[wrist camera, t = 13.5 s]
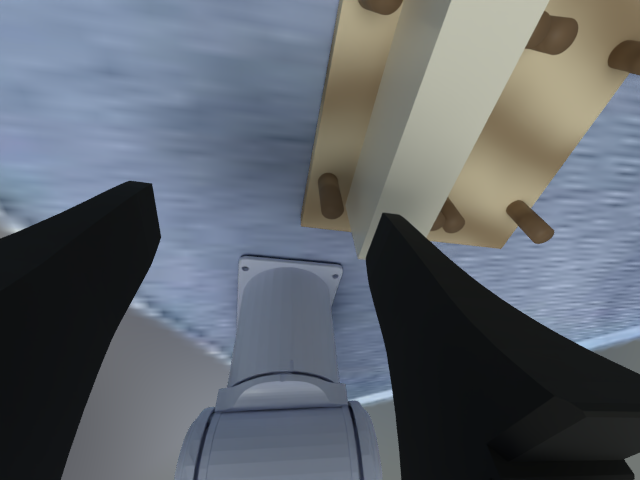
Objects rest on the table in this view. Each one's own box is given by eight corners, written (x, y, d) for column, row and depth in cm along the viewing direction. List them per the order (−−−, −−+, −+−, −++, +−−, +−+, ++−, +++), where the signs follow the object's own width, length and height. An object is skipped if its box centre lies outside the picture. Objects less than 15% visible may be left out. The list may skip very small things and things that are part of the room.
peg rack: (493, 238, 24) (524, 278, 21) (300, 215, 21) (301, 257, 18) (680, -33, 14) (796, -39, 11) (363, -134, 12) (390, -181, 8)
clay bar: (389, 210, 20) (412, 264, 16) (345, 205, 20) (357, 259, 16) (485, -29, 13) (568, -36, 9) (417, -48, 12) (474, -64, 8)
